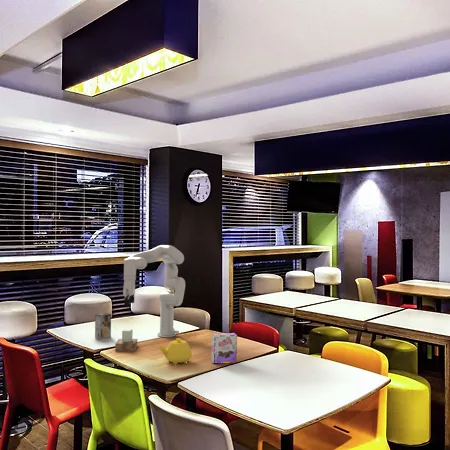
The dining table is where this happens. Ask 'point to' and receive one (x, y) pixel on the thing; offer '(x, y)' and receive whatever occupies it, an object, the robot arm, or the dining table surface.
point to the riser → (126, 345)
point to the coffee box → (102, 325)
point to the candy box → (224, 347)
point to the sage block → (127, 335)
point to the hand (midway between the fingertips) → (129, 304)
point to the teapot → (177, 351)
